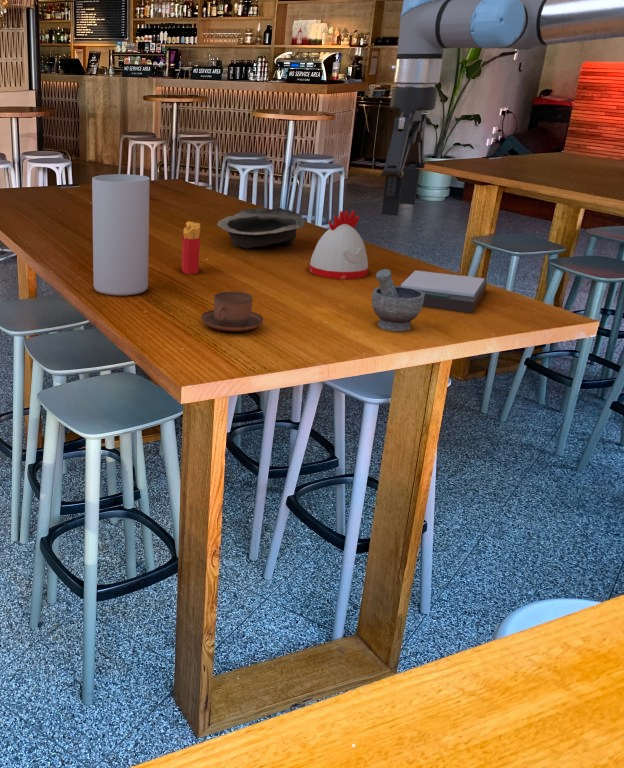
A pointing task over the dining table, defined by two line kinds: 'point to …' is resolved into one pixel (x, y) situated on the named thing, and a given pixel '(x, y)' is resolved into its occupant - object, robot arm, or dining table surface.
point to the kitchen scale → (447, 290)
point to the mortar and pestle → (395, 303)
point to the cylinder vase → (120, 234)
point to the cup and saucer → (232, 313)
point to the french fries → (190, 248)
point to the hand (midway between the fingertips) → (398, 209)
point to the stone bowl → (262, 227)
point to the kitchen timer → (340, 250)
